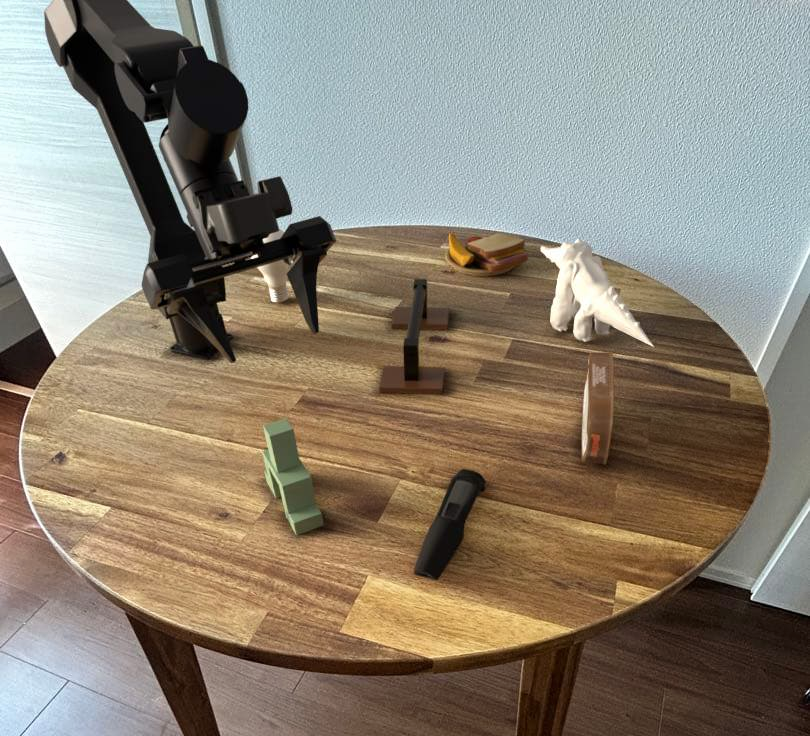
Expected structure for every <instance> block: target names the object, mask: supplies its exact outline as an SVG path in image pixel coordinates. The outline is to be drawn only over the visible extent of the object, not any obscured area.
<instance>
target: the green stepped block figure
mask: <svg viewBox="0 0 810 736" xmlns="http://www.w3.org/2000/svg"><path fill="white" fill-rule="evenodd" d="M262 429H263V433H264V437H265V441H266V445H267V449H265V450H262V451H261V454H262V458H263V461H264V464H265V465H264V466H265V469H264V470H263V471H264V476H265V481H266V483H267V485H268V487H269V489H270V490H271V493H272V495H273V496H274V498H275V499H279V498H281V501H282V505H283V509H284V513H285V514H284V515H285V519H286V520H287V521H288V523H289V525H290V527H291V529H292V530H293V532H294V534H295V536H299V535H302V534H304V533H307V532H310V531H312V530H315V529H317V528H320V527H323V526H324V519H323V515H322V511H321V510H320V508H319V506H318V505H317V502H316V498H315V497H316V496H315V491H314V486H313V480H312V476H311V474H310V473H309V471H308V469H307V468H306V466H305V464H304V463H303V462H302V460H301V459H300V456H299V449H298V445H297V440H296V435H295V429H294V427H293V426H292V425H291V423H290V421H289V420H288V418H282V419H280V420H276V421H272V422H270V423H267V424H263V425H262Z"/></svg>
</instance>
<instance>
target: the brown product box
mask: <svg viewBox="0 0 810 736" xmlns="http://www.w3.org/2000/svg"><path fill="white" fill-rule="evenodd" d="M587 364H588V369H587V375H586V381H585V383H584V384H585V385H584V388H583V399H582V400H583V401H582V416H581V417H582V419H581V420H582V421H581V438H580V439H581V444H580V445H581V449H580V450H581V451H580V452H581V453H580V454H581V455H580V456H581V461H582V462H583V463H587V464H588V463H589V464H601V465H607V462H608V459H609V455H610V450H611V442H612V434H613V425H614V416H615V415H614V413H615V412H614V411H615V371H614V370H615V369H614V366H615V365H614V352H613V351H609V352H599V351H598V352H597V351H596V352H590V353H589V354H588V356H587Z"/></svg>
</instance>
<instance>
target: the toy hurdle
mask: <svg viewBox="0 0 810 736" xmlns="http://www.w3.org/2000/svg"><path fill="white" fill-rule="evenodd" d="M412 287H413V294H412V295H413V296H412V301H411V306H394V310H393V315H392V319H391V320H392V321H391V329H392V330H393V329H394V330H407V332H406V337H405V338H404V339H403V344H402V347H403V348H402V349H403V366H400V365H399V366H398V365H383V366H382V370H381V375H380V380H379V386H378V392H379V393H382V394H383V393H384V394H388V393H389V394H421V395H422V394H426V395H428V394H429V395H442V394H443V388H444V387H443V386H444V375H445V367H444V366H420V336H421V335H420V334H421V330H448V328H449V318H450V317H449V315H450V308H449V307H433V306H432V307H431V306H430V307H429V306H428V279H427V278H414V279H413V286H412Z"/></svg>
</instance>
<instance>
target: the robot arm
mask: <svg viewBox="0 0 810 736" xmlns="http://www.w3.org/2000/svg"><path fill="white" fill-rule="evenodd" d="M43 15H44V16H43V17H44V31H45V32H44V33H45V37H46V41H47V44H48V46H49V49H50V51H51V54H52V57H53V59H54V61H55V63H56V64H57V66H58V67H59V68H63V70H64V72H65V74H66V76H67V78H68V81H69V83H70V85H71V87H72V88H73V90H74V91H75V92H77V94H79V95H80V96H81V97H82V98H83V99H84V100H86V101H87V102H88V103H89V104H90V105H91V106H93V108H95V110H96V111H97V113H98V115H99V118H100V121H101V122H102V124H103V127H104V130H105V132H106V134H107V137H108V139H109V141H110V144H111V146H112V148H113V150H114V153H115V155H116V158H117V160H118V162H119V165H120V168H121V169H122V172H123V174H124V177H125V180H126V181H127V184H128V186H129V189H130V192H131V194H132V195H133V198H134V201H135V203H136V205H137V207H138V210H139V212H140V214H141V217H142V219H143V221H144V224H145V227H146V229H147V231H148V233H149V236H150V238H149V239H150V240H149V247H148V248H149V249H148V258H147V263H146V265H145V268H144V271H143V275H142V279H141V288H142V291H143V294H144V297H145V299H146V301H147V303H148V306H149V307H150V309H151V310H158V311H159V313H161V315H162V316H163V317H164V318H165V319H166V320H169V323H170V326H171V330H172V332H173V335H174V338H175V341H176V343H174V344H173V345H171V347H169V350H170V352H171V353H173V354H177V355H181V356H187V357H192V358H197V359H200V360H201V359H202V360H206V361H207V360H210V359H212V358H213V357H214V356H216V354H217V353H219V352H220V354H221V355H222V356H223V357H224V358H225V359H226V360H227V361H228V362H229V363H230V364H234V363H236V362H237V358H236V356H235V353H234V349H233V348H232V346H231V343H230V342H231V341H232V340H233V339H234V335H233V334H232V333H229V332H227V330H226V326H225V322H224V317H223V315H222V313H220V311H219V306H218V303H224V302H226V301H227V291H226V283H225V278H226V277H229V276H233V275H236V274H239V273H243V272H246V271H249V270H252V269H257V267H260V266H263V265H266V264H270V263H273V262H277V261H280V260H284V262H285V263H286V264H288V265H290V266H289V267H290V269H288V271H287V280H288V281H289V284H290V286H291V288H292V292H293V293H294V297H295V299H296V301H297V304H298V306H299V308H300V311H301V314H302V316H303V318H304V320H305V323H306V325H307V326H308V329H309V330H310V333H312V335H316V334H317V335H318V334H319V332H320V325H319V324H320V322H319V309H318V293H317V282H318V279H317V278H318V270H319V265H320V263H322V262H323V260H324V259H325V258H326V257H327V256H328V251H329V250H330V249H331V248H332V247H333V246H334V244H335V243H336V242H337V239H336V236H335V233H334V231H333V228H332V225H331V224H330V223H329V222H328V221H327V220H326V219H324V218H323V217H322V216H321V215H318V216H315V217H311V218H307V219H304V220H300V221H296V222H292V223H289V224H288V226H287V227H286V229H285V231H283V232H284V234H283V235H282V237H281V238H280V239H277V240H274V241H270V242H267V243H264V242H263V239H264V238H268V236H269V235H270V234H271V233H275V232H278V231H279V229H280V227H279V224H278V220H277V219H281V218H284V217H288V216H291V215H292V214H293V205H292V202H291V198H290V194H289V192H288V189H287V187H286V185H285V182H284V180H283V178H282V176H281V175H279V176H274V177H271V178H266V179H262V180H259V181H258V182H257V193H254V194H250V192H249V189H248V187H247V185H246V184H245V182H244V180H243V179H242V180H241V179H240V180H239V179H238V175H237V173H236V171H235V168H234V166H233V163H232V161H231V159H230V157H232V155H233V154H234V151H235V149H236V147H237V144H238V141H239V139H240V135H241V133H242V131H243V127H244V125H245V122H246V120H247V117H248V113H249V97H248V94H247V90H246V88H245V86H244V84H243V82H241V81H240V80H239V78H238V77H237V75H235V74H234V73H233V72H232V71H231V70H230V69H229V68H228V67H226V66H224V65H223V64H222V63H219V62H217V61H214V60H212V59H209V57H208V55H207V52H206V50H205V47H204V46H203V45H194V44H193V42H192V41H191V40H190V39H188V38H187V37H186V36H185V35H182V33H181V34H180V33H179V32H177V31H176V30H173V29H164V28H157V27H154V26H152V25H151V24H150V23H149V21H147V19H146V18H145V17H143V15H142V14H141V13H140V12H139V11H138V10H137V9H136V7H134V6H133V5H132V4H131V2H129V1H128V0H51V2H50V3H49V5H47V7H45V8H44V11H43ZM166 119H167V124H166V125H165V126H164V128H163V129H162V131H161V133H160V137H159V142H158V148H159V151H160V154H161V155H162V158H163V161H164V163H165V165H166V167H167V170H168V171H169V174H170V176H171V178H172V181H173V183H174V185H175V188H176V190H177V193H178V195H179V197H180V200H181V202H182V204H183V207H184V209H185V211H186V219H187V222H188V224H189V225H188V224H187V222H185V220H184V218H183V216H182V213H181V211H180V209H179V206H178V203H177V201H176V199H175V197H174V194H173V191H172V189H171V186H170V183H169V181H168V178H167V176H166V174H165V171H164V169H163V166H162V164H161V162H160V160H159V157H158V154H157V151H156V149H155V147H154V145H153V142H152V139H151V138H150V137H151V136H150V135H149V133H148V130H147V127H146V125H145V124H146V123H152V122H156V121H161V120H166ZM254 255H258V257H257V258H256V257H255V258H253V259H252V258H251V257H252V256H254Z"/></svg>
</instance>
